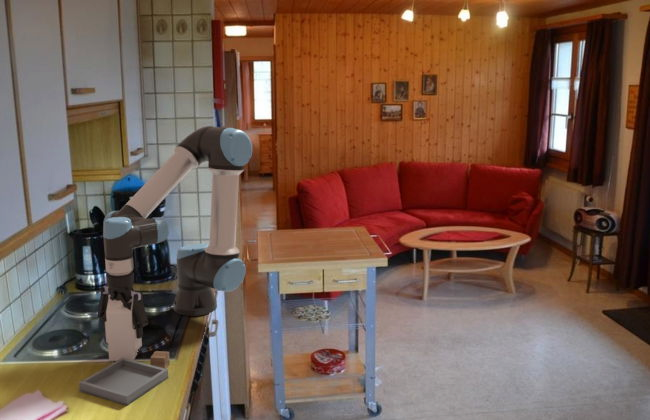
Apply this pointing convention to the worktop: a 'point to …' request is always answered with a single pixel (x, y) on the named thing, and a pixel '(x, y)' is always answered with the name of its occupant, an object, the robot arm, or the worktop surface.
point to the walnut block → (160, 359)
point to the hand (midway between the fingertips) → (123, 344)
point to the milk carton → (120, 331)
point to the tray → (123, 381)
